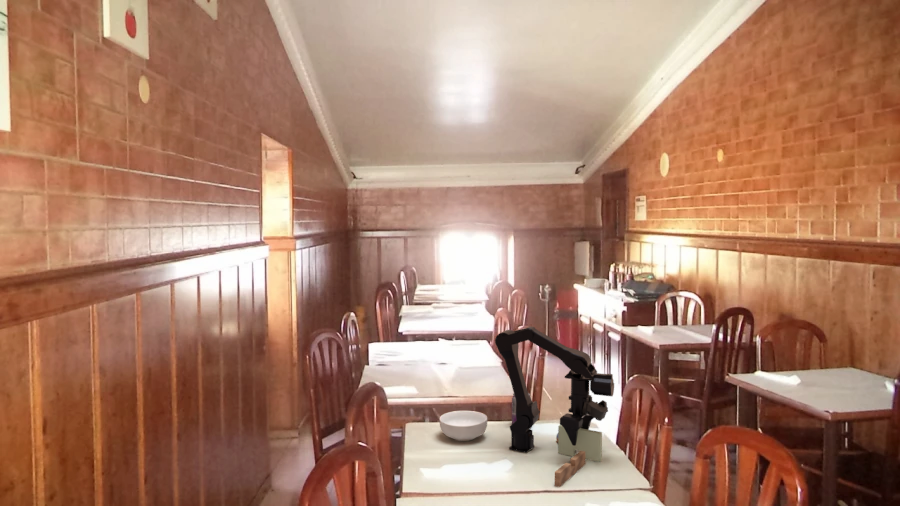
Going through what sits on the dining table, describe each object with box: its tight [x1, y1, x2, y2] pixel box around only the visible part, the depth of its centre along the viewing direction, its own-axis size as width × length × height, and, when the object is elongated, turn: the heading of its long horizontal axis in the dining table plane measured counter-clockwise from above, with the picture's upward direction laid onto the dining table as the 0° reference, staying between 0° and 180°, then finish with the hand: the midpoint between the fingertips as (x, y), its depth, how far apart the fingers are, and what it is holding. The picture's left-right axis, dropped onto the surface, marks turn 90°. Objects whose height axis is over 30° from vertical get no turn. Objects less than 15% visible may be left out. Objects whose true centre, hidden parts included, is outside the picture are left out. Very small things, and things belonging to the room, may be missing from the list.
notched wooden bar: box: [554, 450, 586, 488], centre depth 194 cm, size 20×2×4 cm, turn 147°
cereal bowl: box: [439, 410, 488, 442], centre depth 227 cm, size 17×17×7 cm
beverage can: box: [511, 392, 532, 425], centre depth 238 cm, size 7×7×12 cm
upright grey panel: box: [557, 424, 603, 463], centre depth 208 cm, size 14×2×9 cm, turn 57°
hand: (579, 441), depth 208 cm, fingers open, 9 cm apart
